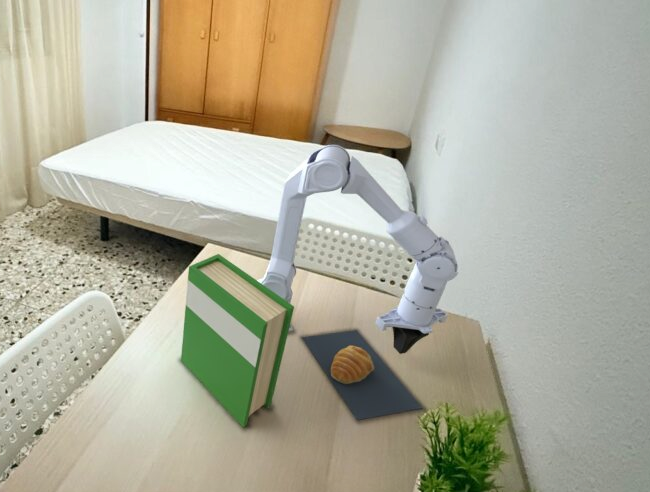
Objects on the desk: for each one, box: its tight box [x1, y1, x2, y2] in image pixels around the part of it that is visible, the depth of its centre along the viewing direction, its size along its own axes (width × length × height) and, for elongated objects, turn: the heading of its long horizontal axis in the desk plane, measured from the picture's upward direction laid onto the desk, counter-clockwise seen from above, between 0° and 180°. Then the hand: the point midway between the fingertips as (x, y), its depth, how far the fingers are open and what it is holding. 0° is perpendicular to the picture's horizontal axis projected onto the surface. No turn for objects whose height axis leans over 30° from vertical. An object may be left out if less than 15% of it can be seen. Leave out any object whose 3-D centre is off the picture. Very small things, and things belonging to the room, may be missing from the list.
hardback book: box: [180, 253, 295, 428], centre depth 74 cm, size 18×7×24 cm, turn 36°
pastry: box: [331, 346, 374, 384], centre depth 82 cm, size 9×7×4 cm
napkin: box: [301, 329, 423, 421], centre depth 83 cm, size 20×14×1 cm
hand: (399, 349), depth 83 cm, fingers closed
